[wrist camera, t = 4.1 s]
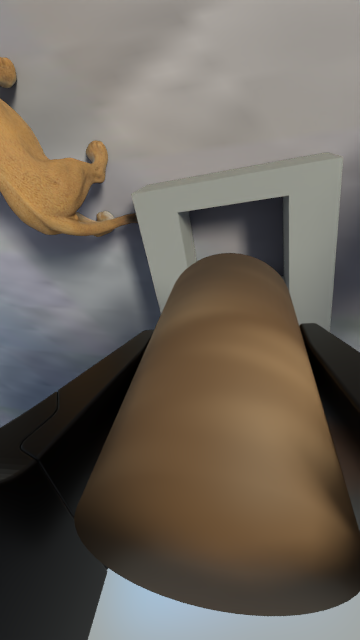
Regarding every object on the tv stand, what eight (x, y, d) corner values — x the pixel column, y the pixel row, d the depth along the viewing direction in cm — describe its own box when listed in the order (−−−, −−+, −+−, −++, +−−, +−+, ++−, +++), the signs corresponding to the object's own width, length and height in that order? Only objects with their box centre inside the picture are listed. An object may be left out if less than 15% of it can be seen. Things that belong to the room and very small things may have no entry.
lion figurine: (-72, 108, 18) (-291, 95, 11) (-62, 1, 15) (-350, -117, 8) (135, 250, 21) (73, 319, 13) (177, 179, 18) (127, 216, 10)
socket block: (327, 152, 16) (343, 157, 13) (315, 391, 24) (322, 421, 22) (146, 185, 18) (131, 194, 16) (192, 391, 27) (187, 419, 24)
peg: (293, 246, 9) (399, 487, 3) (290, 357, 11) (349, 632, 5) (159, 259, 10) (29, 462, 4) (179, 359, 12) (115, 593, 6)
